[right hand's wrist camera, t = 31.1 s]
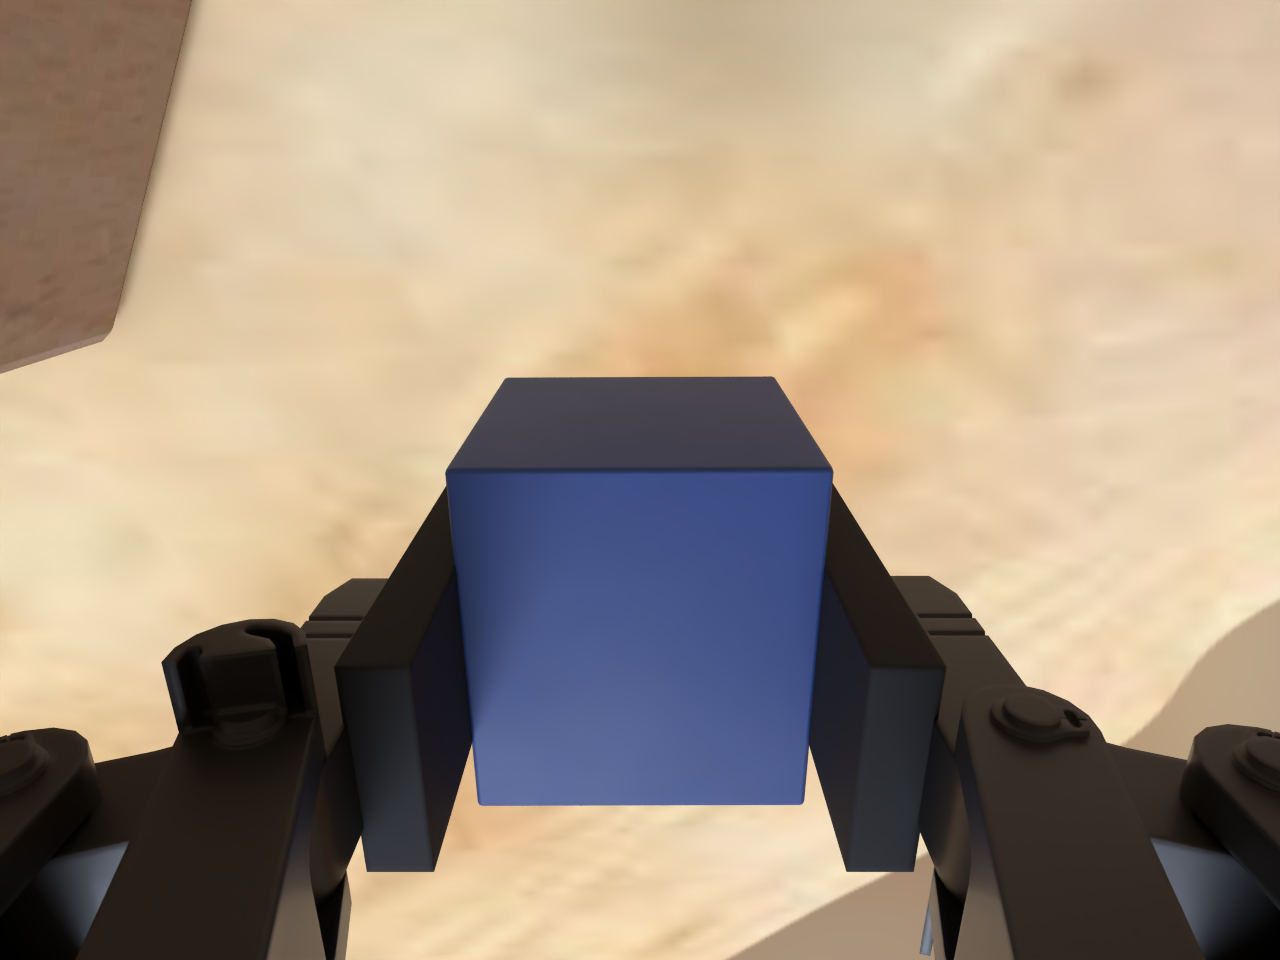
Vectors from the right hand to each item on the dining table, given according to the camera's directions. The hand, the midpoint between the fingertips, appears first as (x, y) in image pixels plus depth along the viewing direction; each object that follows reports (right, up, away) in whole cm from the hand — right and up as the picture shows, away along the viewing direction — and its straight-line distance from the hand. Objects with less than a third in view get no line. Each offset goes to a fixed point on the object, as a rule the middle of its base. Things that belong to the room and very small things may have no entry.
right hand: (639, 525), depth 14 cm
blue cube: (0, 0, 0) cm, 0 cm away
